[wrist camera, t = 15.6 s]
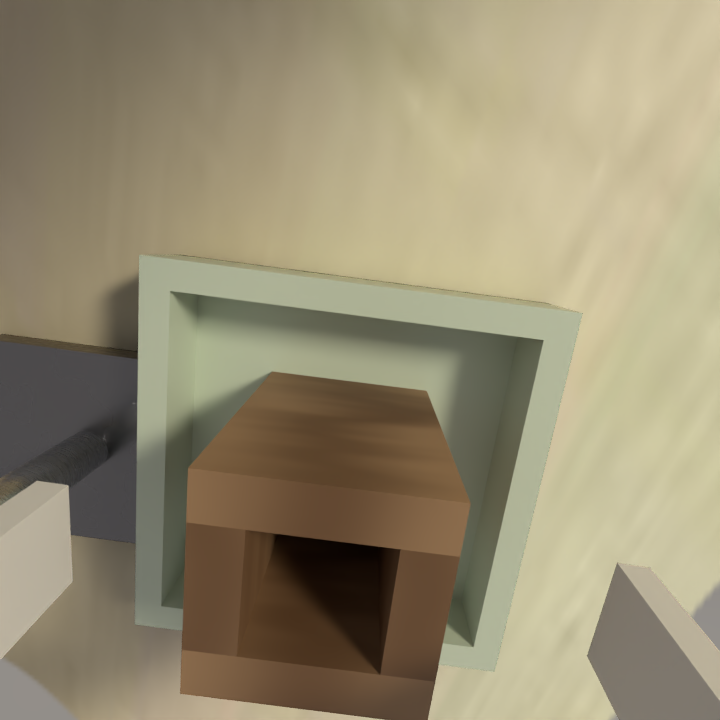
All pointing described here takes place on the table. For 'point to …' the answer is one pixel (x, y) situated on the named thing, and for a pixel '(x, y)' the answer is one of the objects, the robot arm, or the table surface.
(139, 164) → the table surface
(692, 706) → the robot arm
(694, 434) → the table surface
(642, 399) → the table surface
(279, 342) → the tray
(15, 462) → the pin
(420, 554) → the bore block
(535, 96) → the table surface
